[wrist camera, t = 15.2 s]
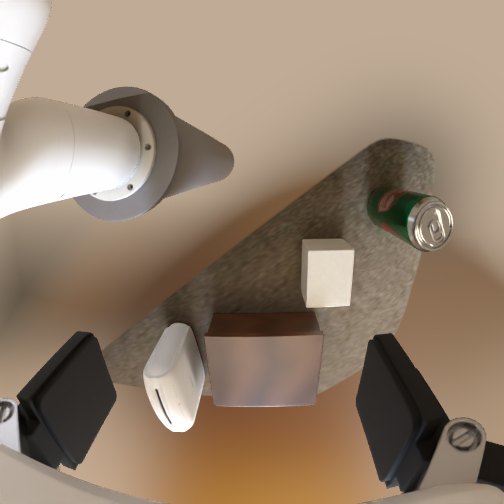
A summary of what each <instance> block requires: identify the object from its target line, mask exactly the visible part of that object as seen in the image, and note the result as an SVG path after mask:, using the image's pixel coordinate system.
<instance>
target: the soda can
mask: <svg viewBox="0 0 504 504" xmlns="http://www.w3.org/2000/svg"><path fill="white" fill-rule="evenodd" d="M367 209H368V215H369V217H370V219H371V221H372V222H373V223H374V224H375V225H377V226H378V227H380V228H382V229H384V230H385V231H387V232H389V233H391V234H392V235H394V236H396V237H397V238H399V239H401V240H403V241H404V242H406V243H408V244H409V245H411V246H413V247H414V248H416V249H418V250H420V251H424V252H428V251H435V250H438V249H440V248H442V247H443V246H445V245H446V243H447V242H448V241H449V239H450V237H451V235H452V231H453V217H452V214H451V212H450V210H449V209H448V207H447V206H446V205H445V203H444V202H443V201H441V200H440V199H439V198H437V197H434V196H430V195H426V194H421V193H417V192H412V191H408V190H403V189H398V188H393V187H381V188H378V189H377V190H375V191H374V192H373V193H372V195H371V196H370V198H369V201H368V206H367Z"/></svg>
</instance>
